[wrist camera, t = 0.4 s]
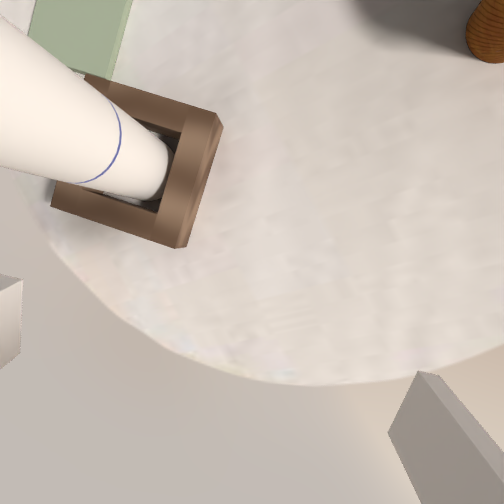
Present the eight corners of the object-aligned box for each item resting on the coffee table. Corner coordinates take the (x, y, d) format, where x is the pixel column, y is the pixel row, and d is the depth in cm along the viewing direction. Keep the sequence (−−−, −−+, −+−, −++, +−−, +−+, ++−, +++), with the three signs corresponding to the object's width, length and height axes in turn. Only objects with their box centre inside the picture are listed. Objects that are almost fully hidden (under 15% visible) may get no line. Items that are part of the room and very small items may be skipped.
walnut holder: (107, 91, 35) (85, 73, 31) (223, 127, 34) (216, 113, 30) (75, 209, 37) (50, 206, 33) (186, 247, 36) (174, 248, 32)
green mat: (53, -31, 35) (46, -39, 34) (134, -8, 34) (130, -15, 33) (30, 57, 36) (23, 53, 35) (110, 82, 35) (105, 78, 34)
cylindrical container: (147, 213, 36) (-153, 169, 11) (104, 170, 36) (-289, 27, 11) (190, 168, 35) (-28, 10, 10) (146, 124, 35) (-176, -140, 10)
